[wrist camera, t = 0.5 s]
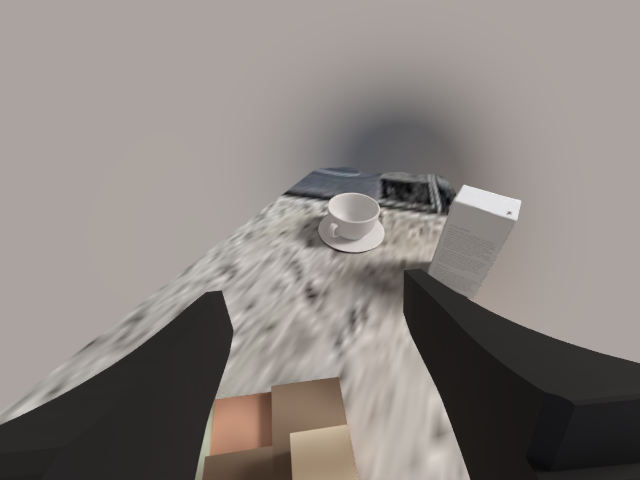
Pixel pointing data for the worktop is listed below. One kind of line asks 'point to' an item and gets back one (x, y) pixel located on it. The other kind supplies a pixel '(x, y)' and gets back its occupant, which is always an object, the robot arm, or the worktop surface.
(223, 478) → the box
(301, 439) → the birch block
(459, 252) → the skincare box
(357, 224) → the teacup
